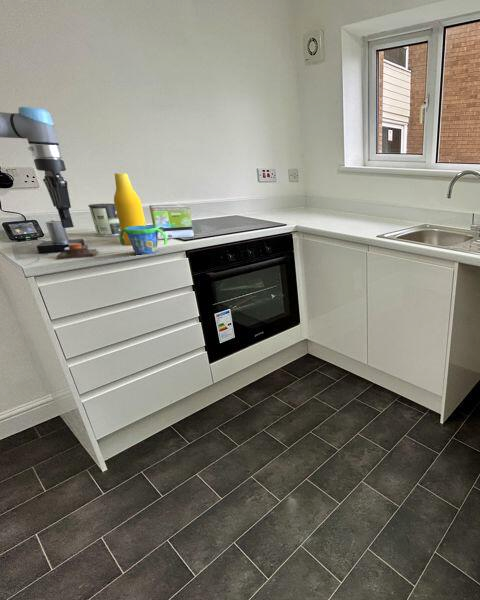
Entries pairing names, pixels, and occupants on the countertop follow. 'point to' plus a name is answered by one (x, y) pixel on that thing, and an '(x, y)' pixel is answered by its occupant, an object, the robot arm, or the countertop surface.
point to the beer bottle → (127, 205)
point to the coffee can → (105, 219)
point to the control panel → (56, 246)
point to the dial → (57, 232)
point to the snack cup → (143, 238)
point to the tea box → (172, 220)
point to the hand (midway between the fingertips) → (68, 227)
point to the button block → (77, 253)
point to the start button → (75, 246)
